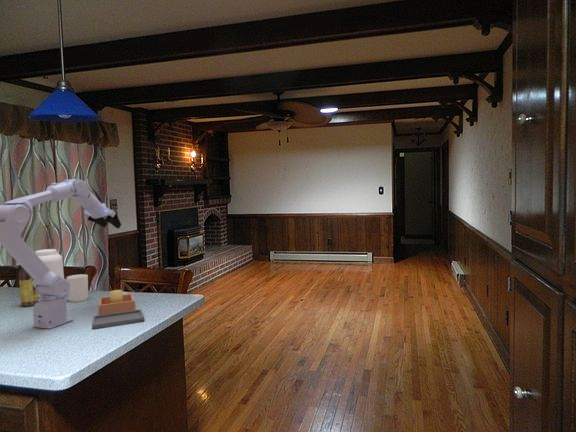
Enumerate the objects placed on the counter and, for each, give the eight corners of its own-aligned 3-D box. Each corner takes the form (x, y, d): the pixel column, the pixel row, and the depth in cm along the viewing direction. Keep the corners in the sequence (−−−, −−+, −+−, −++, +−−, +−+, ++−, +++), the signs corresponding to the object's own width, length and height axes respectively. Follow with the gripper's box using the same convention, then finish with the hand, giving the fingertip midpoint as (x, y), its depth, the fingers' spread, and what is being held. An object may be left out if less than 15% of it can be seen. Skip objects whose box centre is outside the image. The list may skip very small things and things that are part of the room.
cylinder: (117, 310, 153) (116, 293, 152) (108, 309, 154) (107, 292, 154) (126, 307, 157) (125, 290, 156) (116, 306, 159) (115, 289, 158)
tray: (144, 321, 140) (144, 317, 140) (92, 329, 134) (92, 325, 134) (141, 313, 150) (141, 309, 150) (93, 320, 144) (92, 316, 144)
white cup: (93, 297, 176) (91, 274, 175) (82, 302, 168) (80, 278, 168) (75, 297, 177) (74, 274, 176) (64, 302, 169) (62, 278, 168)
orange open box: (135, 311, 153) (134, 300, 152) (99, 316, 148) (98, 305, 148) (133, 303, 164) (132, 293, 163) (99, 308, 159) (99, 297, 159)
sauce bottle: (37, 305, 166) (33, 256, 164) (19, 307, 163) (15, 258, 162) (40, 301, 172) (37, 254, 170) (23, 303, 169) (19, 255, 168)
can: (48, 298, 177) (45, 252, 175) (25, 297, 180) (22, 251, 179) (71, 291, 189) (68, 247, 187) (49, 290, 192) (46, 247, 191)
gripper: (110, 196, 155) (131, 219, 165) (83, 195, 161) (105, 217, 171) (100, 210, 151) (121, 233, 161) (72, 209, 157) (95, 231, 167)
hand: (112, 226), depth 166 cm, fingers open, 7 cm apart
